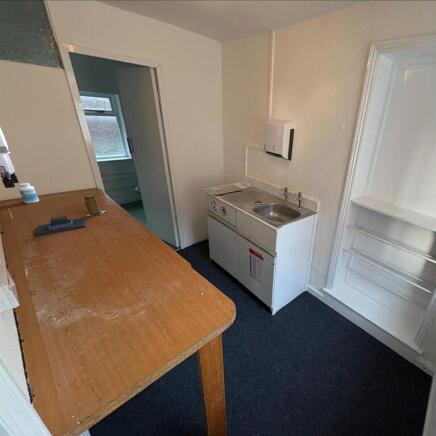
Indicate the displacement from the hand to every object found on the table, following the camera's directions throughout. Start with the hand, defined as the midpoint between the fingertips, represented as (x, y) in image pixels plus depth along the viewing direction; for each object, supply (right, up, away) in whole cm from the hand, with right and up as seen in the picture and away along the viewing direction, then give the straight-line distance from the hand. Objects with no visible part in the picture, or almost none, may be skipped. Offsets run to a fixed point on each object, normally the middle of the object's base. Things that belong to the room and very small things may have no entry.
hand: (12, 185), depth 116 cm
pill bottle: (-45, -5, +49) cm, 67 cm away
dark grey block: (+9, -21, +16) cm, 28 cm away
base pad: (+9, -22, +16) cm, 29 cm away
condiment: (+12, -14, +35) cm, 40 cm away
